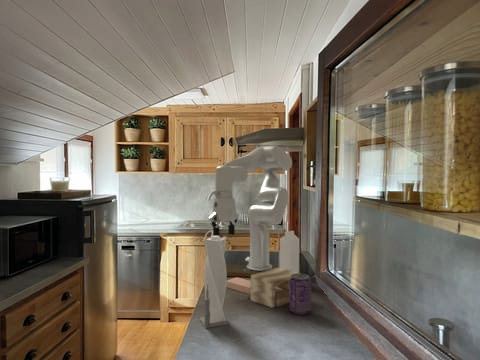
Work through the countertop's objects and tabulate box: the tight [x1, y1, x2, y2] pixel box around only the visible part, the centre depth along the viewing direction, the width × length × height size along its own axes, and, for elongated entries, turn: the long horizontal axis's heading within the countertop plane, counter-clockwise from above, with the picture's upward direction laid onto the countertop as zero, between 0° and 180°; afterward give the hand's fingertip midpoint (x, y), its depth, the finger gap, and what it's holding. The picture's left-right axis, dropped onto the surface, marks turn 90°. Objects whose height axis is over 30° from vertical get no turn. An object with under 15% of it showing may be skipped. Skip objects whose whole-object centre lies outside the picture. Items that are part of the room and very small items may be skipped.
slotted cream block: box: [247, 267, 301, 308], centre depth 128 cm, size 14×16×9 cm
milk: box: [279, 230, 300, 273], centre depth 147 cm, size 6×6×22 cm
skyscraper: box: [198, 229, 228, 329], centre depth 107 cm, size 8×8×28 cm
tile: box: [226, 277, 251, 295], centre depth 137 cm, size 16×7×3 cm, turn 48°
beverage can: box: [288, 273, 312, 316], centre depth 114 cm, size 7×7×12 cm
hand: (224, 235), depth 146 cm, fingers open, 8 cm apart
